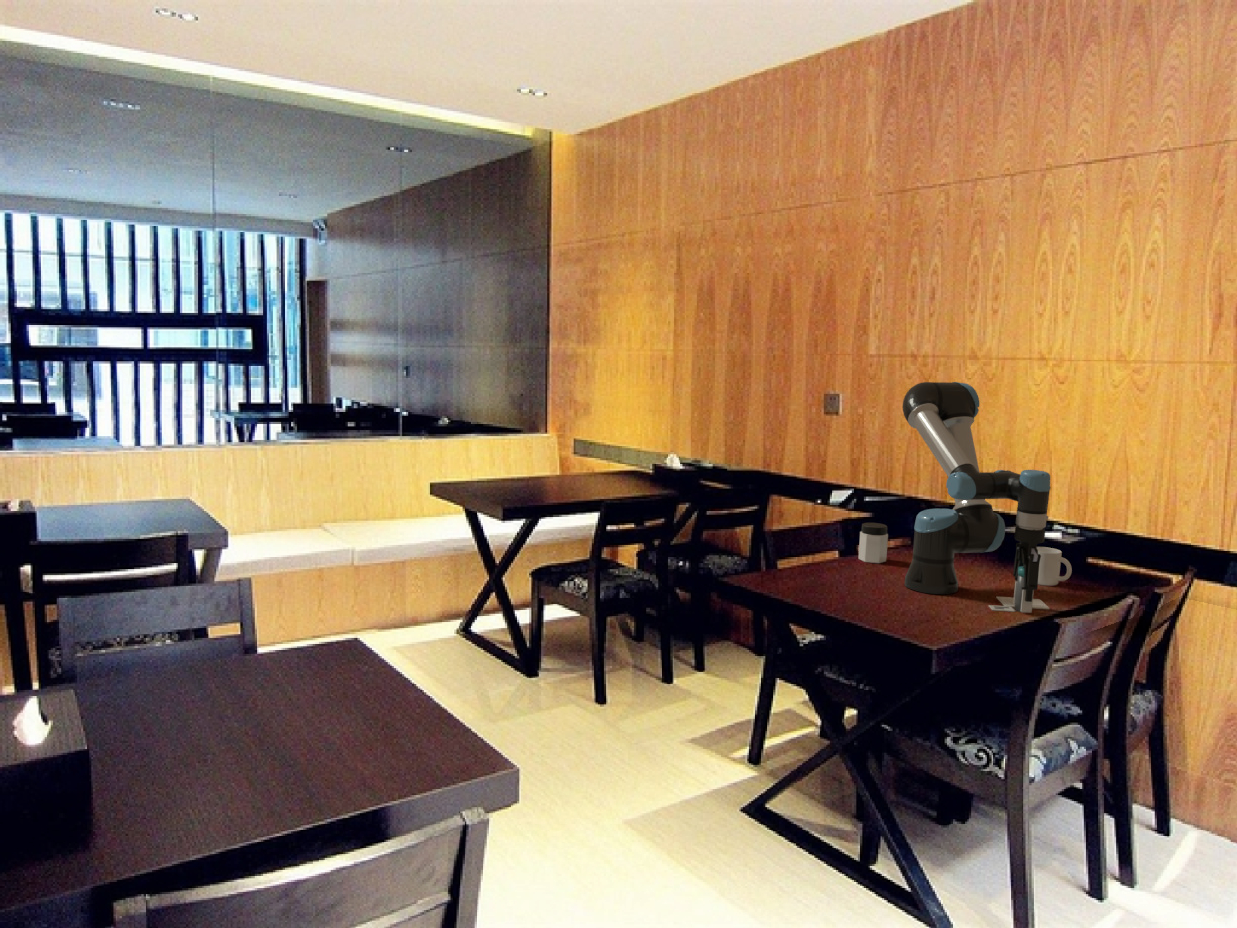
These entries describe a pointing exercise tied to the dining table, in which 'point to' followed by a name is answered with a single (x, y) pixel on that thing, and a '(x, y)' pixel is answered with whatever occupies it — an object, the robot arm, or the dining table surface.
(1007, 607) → the word card
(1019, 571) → the grey teal battery
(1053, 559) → the mug
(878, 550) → the jar
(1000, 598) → the paper
